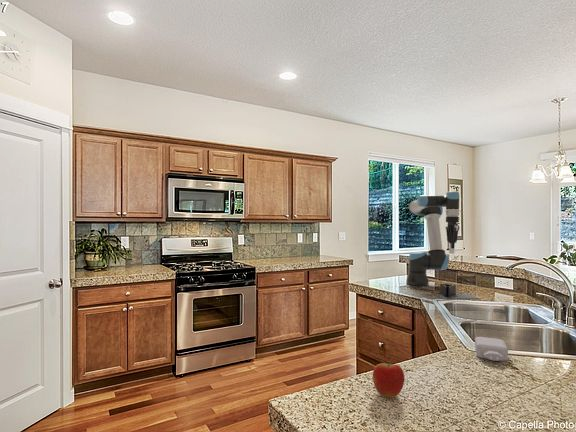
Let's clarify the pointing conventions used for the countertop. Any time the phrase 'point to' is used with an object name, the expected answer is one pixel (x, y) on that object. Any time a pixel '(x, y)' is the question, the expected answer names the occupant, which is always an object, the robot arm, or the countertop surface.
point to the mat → (457, 296)
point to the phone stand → (447, 290)
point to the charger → (491, 349)
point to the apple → (388, 379)
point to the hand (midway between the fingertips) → (451, 253)
